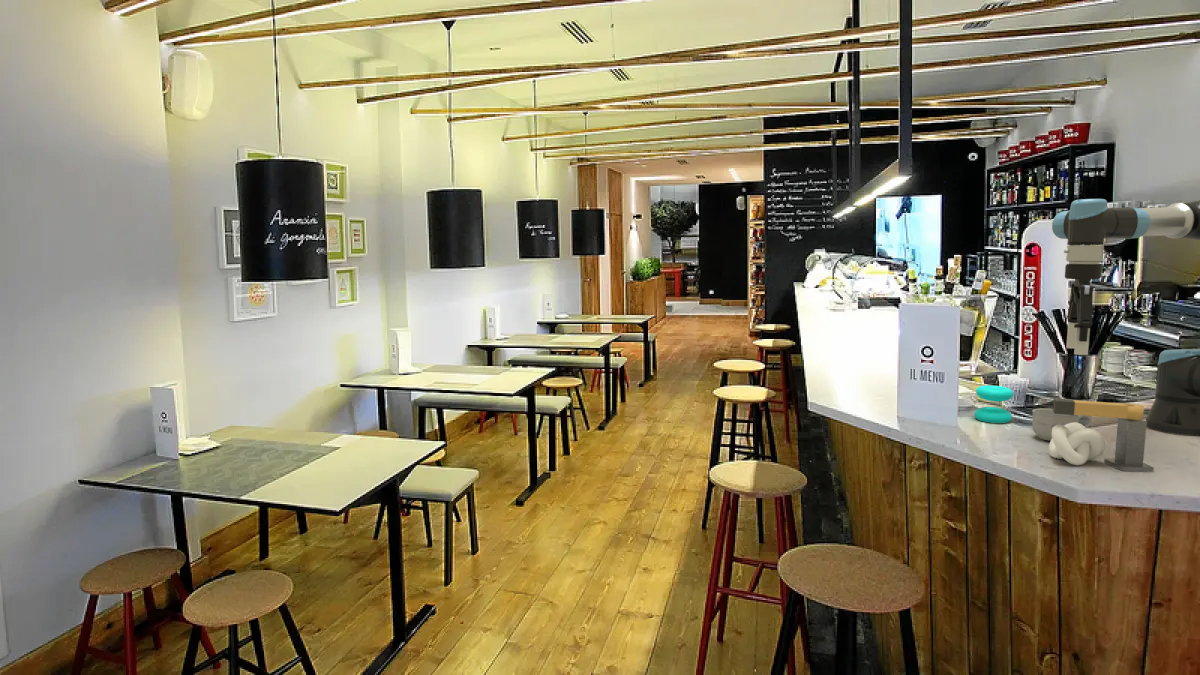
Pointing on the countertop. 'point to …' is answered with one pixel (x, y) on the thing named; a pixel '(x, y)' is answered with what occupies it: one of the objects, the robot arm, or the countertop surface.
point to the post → (1130, 446)
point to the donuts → (993, 412)
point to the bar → (1098, 409)
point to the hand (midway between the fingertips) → (1076, 351)
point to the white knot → (1075, 443)
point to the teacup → (1052, 422)
